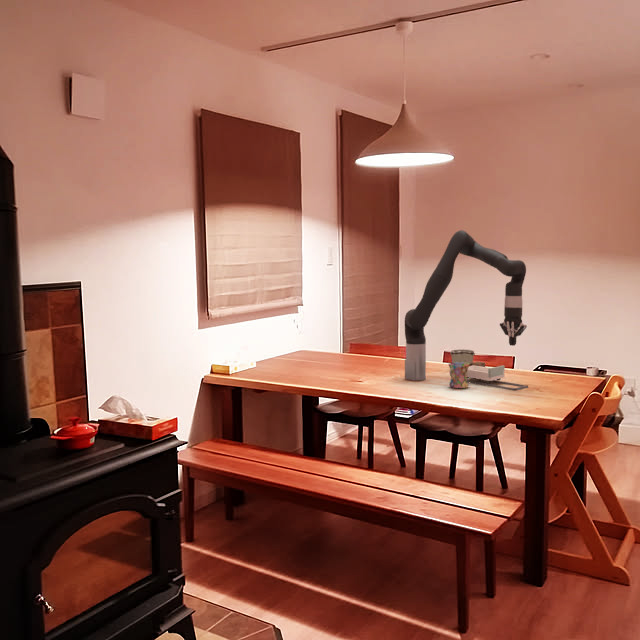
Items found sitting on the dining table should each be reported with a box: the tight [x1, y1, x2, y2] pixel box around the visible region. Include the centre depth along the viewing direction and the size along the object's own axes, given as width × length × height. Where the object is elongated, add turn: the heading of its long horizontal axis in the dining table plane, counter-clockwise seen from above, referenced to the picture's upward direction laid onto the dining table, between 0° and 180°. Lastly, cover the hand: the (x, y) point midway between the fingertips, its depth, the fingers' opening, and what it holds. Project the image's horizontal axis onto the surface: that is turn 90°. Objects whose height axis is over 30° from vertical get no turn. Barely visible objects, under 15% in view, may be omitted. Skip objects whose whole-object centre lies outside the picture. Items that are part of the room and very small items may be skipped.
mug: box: [447, 361, 470, 389], centre depth 285 cm, size 12×9×11 cm
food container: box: [449, 349, 476, 366], centre depth 328 cm, size 12×6×10 cm, turn 84°
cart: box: [467, 364, 506, 384], centre depth 296 cm, size 11×17×7 cm, turn 40°
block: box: [472, 361, 486, 367], centre depth 314 cm, size 4×4×6 cm
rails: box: [467, 377, 529, 391], centre depth 293 cm, size 10×32×1 cm, turn 40°
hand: (512, 345), depth 282 cm, fingers closed
